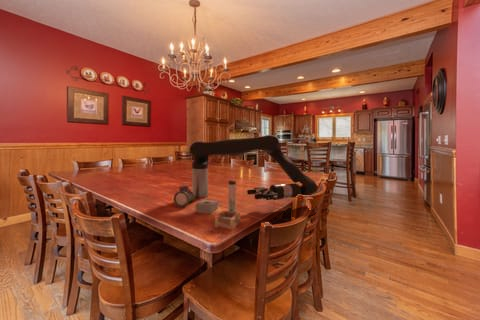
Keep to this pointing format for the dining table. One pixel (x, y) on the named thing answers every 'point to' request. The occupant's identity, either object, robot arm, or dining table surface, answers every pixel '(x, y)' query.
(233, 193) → the pin
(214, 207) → the block
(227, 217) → the wooden square box frame
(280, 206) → the dining table surface
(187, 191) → the pipe fitting
